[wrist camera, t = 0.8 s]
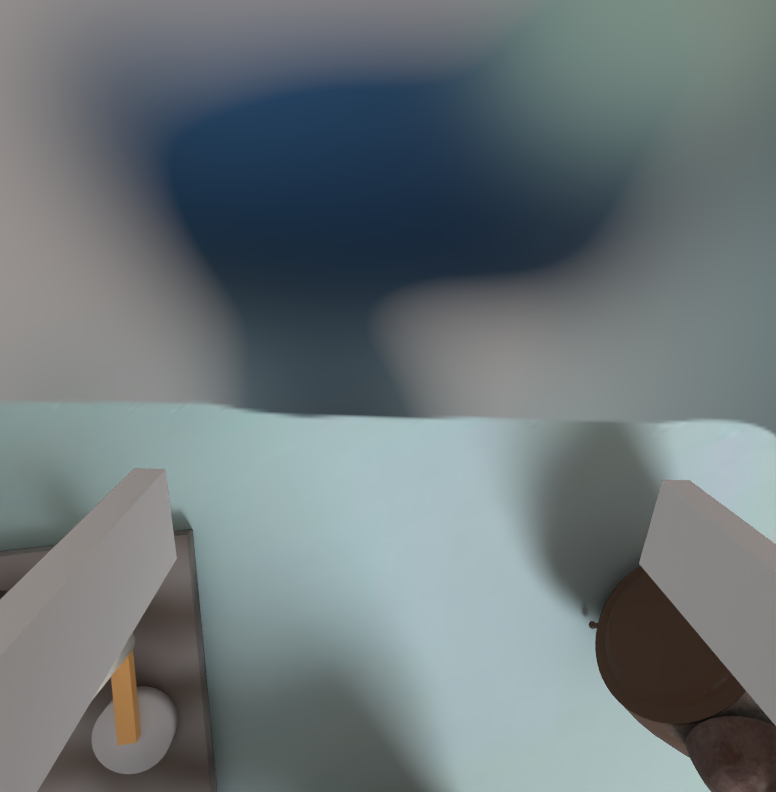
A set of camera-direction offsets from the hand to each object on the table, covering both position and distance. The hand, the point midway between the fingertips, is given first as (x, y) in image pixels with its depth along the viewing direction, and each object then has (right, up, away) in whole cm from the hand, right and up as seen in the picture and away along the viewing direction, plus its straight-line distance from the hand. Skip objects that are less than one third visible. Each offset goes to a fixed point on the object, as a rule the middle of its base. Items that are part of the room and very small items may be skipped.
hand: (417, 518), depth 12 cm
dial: (-22, -20, +25) cm, 39 cm away
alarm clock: (+23, -17, +32) cm, 42 cm away
